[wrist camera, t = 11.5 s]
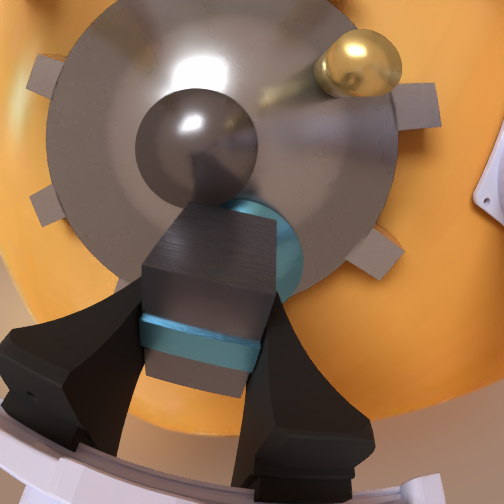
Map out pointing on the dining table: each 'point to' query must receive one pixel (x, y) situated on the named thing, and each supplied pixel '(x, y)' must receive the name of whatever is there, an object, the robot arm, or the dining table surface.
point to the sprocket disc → (228, 130)
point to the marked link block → (208, 298)
